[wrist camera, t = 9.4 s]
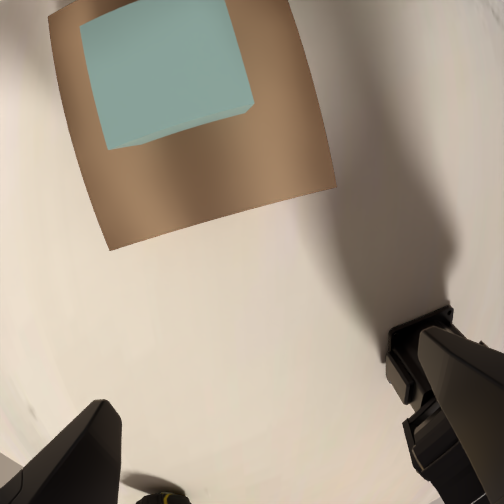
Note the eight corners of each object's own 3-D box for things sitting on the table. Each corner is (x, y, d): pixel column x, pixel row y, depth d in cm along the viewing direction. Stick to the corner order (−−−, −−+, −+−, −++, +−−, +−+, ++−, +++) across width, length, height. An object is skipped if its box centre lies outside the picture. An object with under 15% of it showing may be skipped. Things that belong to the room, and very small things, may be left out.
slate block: (218, 19, 11) (217, -23, 7) (245, 113, 13) (254, 103, 9) (117, 52, 11) (79, 26, 7) (141, 144, 13) (108, 150, 9)
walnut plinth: (259, -32, 12) (265, -56, 10) (319, 178, 18) (337, 187, 15) (70, 29, 12) (47, 16, 10) (125, 233, 18) (109, 251, 15)
